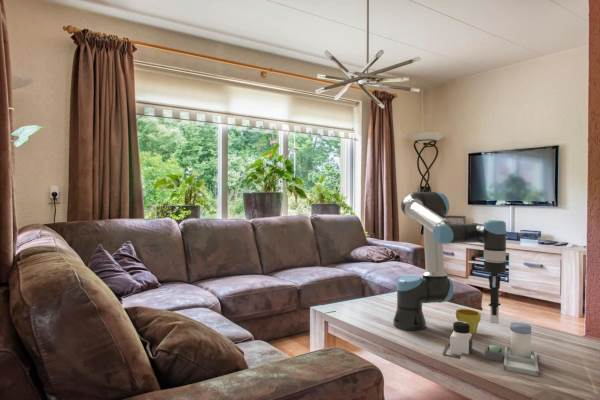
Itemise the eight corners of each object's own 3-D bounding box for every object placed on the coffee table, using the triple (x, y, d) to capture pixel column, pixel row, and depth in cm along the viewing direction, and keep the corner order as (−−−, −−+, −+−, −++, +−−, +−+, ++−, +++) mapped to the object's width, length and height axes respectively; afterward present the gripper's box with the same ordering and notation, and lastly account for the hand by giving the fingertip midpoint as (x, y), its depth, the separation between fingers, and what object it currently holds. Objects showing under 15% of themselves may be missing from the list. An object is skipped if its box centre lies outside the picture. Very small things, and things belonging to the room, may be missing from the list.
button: (488, 355, 149) (488, 347, 149) (489, 351, 152) (489, 344, 152) (499, 356, 147) (499, 348, 147) (499, 353, 150) (499, 345, 150)
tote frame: (442, 355, 154) (442, 354, 154) (447, 344, 166) (447, 343, 166) (477, 361, 148) (477, 360, 148) (479, 350, 159) (479, 349, 159)
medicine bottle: (469, 357, 152) (469, 326, 152) (450, 353, 156) (450, 323, 156) (472, 351, 158) (472, 321, 158) (453, 347, 162) (453, 318, 162)
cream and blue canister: (509, 358, 148) (510, 326, 148) (510, 351, 154) (510, 321, 154) (531, 362, 145) (531, 329, 145) (530, 355, 151) (531, 324, 151)
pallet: (483, 370, 141) (483, 358, 141) (487, 349, 160) (487, 338, 160) (542, 381, 132) (542, 369, 132) (539, 357, 152) (539, 346, 152)
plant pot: (480, 331, 181) (480, 310, 181) (480, 338, 172) (480, 316, 172) (456, 328, 186) (456, 307, 186) (455, 335, 176) (455, 313, 176)
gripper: (505, 264, 141) (505, 329, 142) (506, 259, 153) (506, 319, 153) (482, 262, 145) (482, 326, 145) (485, 257, 156) (484, 316, 157)
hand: (494, 322), depth 149 cm, fingers closed
